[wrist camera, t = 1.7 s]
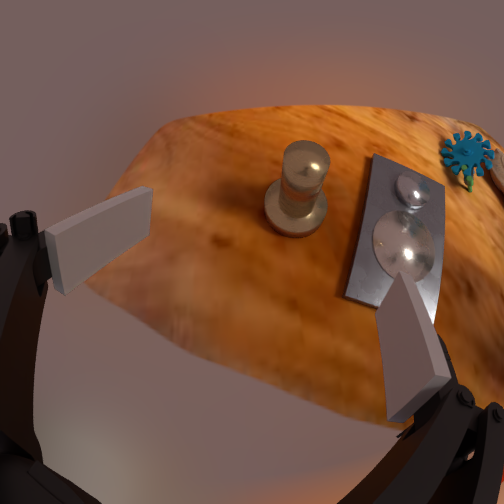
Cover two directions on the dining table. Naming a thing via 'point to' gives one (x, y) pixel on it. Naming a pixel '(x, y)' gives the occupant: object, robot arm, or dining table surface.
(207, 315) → the dining table surface
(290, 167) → the metal knob
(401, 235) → the carrier plate
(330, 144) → the dining table surface
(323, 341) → the dining table surface
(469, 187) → the gear
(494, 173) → the pottery oil lamp
